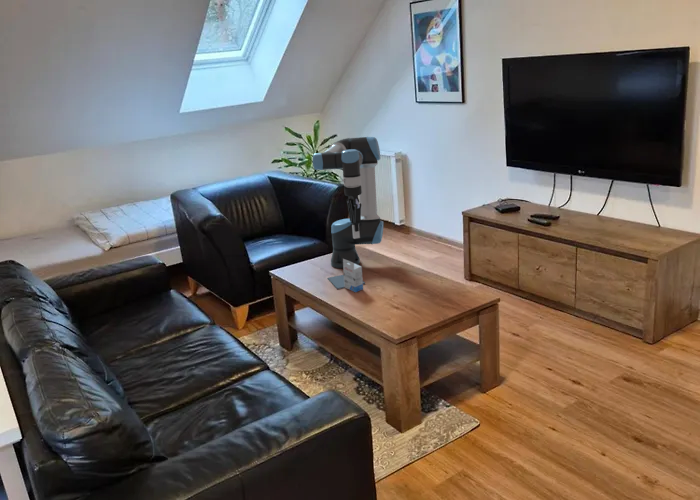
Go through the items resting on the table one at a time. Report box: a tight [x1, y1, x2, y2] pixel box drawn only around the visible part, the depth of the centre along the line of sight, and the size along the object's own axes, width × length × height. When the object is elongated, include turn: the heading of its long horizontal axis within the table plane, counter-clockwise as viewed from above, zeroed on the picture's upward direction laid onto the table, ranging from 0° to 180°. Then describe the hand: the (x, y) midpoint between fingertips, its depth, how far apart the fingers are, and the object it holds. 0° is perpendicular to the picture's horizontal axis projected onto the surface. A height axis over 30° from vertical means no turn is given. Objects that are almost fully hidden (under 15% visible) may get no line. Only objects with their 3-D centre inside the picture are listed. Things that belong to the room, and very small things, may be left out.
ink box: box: [342, 259, 364, 293], centre depth 295 cm, size 8×5×15 cm, turn 39°
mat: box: [326, 274, 366, 290], centre depth 308 cm, size 16×14×1 cm
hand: (356, 237), depth 282 cm, fingers closed
